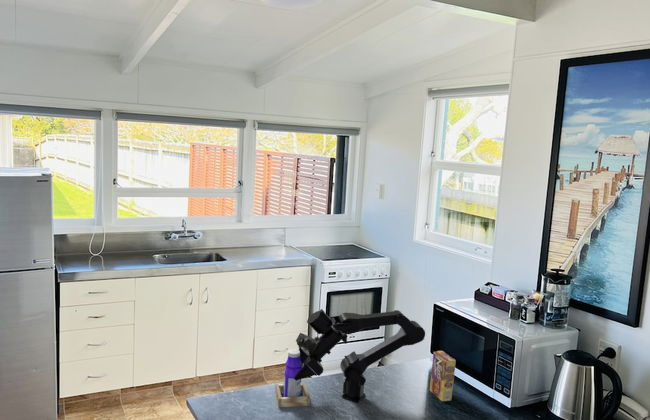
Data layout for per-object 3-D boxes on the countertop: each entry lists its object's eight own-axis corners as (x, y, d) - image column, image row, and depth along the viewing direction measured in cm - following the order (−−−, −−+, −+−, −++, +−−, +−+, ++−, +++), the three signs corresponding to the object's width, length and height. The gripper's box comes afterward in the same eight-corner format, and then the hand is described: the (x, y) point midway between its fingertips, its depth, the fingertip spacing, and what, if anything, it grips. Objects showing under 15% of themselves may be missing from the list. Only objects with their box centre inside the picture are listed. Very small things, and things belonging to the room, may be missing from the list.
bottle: (297, 405, 188) (299, 356, 186) (281, 402, 189) (283, 354, 187) (302, 395, 195) (305, 348, 193) (286, 392, 196) (289, 346, 194)
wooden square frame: (304, 391, 199) (305, 383, 198) (309, 405, 188) (309, 397, 188) (275, 392, 196) (275, 384, 196) (278, 407, 186) (278, 398, 186)
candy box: (452, 400, 198) (456, 360, 196) (442, 402, 196) (446, 361, 194) (439, 389, 206) (443, 350, 204) (429, 390, 205) (432, 351, 202)
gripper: (306, 317, 198) (274, 347, 198) (315, 337, 180) (280, 370, 180) (326, 337, 201) (295, 367, 201) (337, 359, 183) (302, 392, 183)
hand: (292, 373), depth 191 cm, fingers open, 9 cm apart
